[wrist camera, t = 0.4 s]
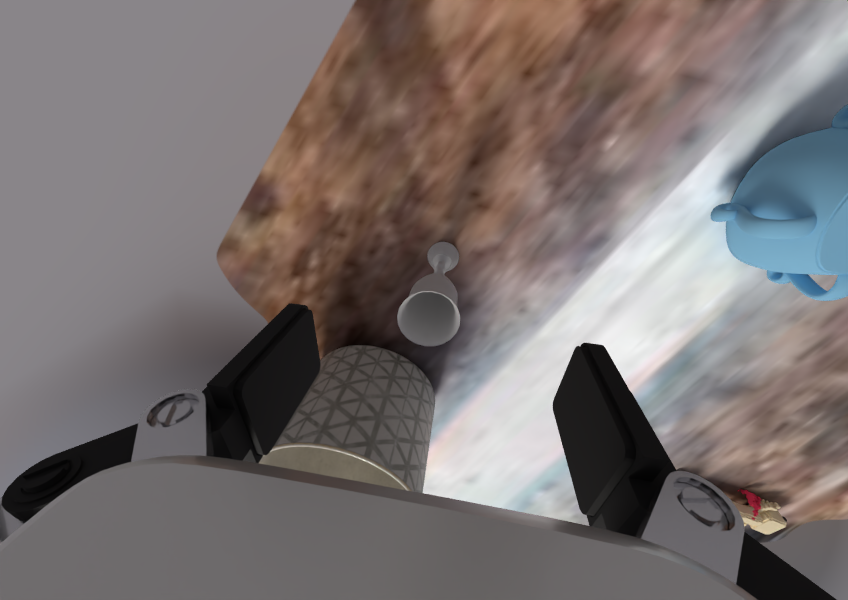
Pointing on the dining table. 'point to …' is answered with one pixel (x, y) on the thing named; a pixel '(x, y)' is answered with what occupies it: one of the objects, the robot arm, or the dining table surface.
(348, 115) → the dining table surface
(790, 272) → the decorative pot
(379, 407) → the planter
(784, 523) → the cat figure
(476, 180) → the dining table surface
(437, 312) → the chalice
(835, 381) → the dining table surface
